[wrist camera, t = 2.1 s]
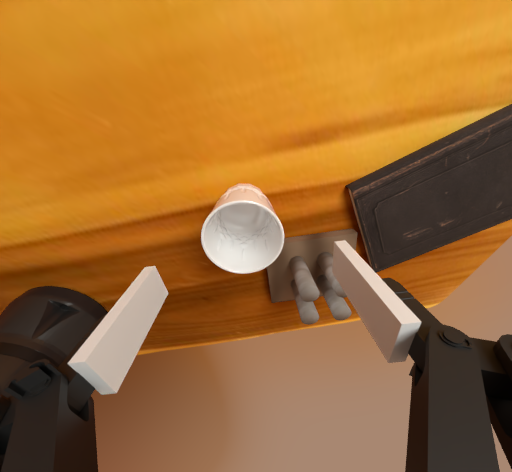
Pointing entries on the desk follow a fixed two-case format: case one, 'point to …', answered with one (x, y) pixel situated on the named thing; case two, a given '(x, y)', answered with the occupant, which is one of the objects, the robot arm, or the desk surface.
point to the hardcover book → (437, 193)
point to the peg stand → (310, 274)
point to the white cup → (242, 231)
